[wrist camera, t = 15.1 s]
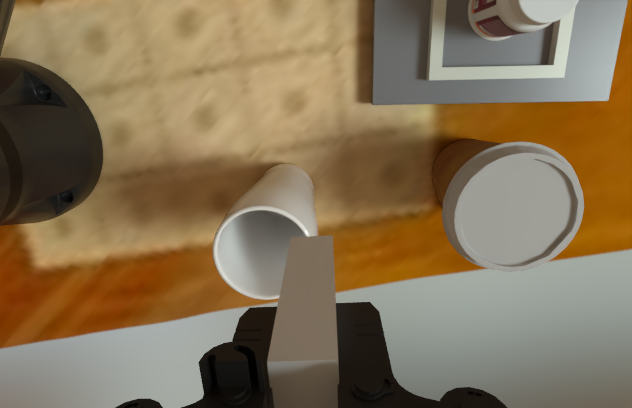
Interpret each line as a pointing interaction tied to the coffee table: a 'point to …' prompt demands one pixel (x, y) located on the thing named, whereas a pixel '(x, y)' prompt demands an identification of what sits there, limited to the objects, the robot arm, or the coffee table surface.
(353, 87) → the coffee table surface
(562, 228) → the disposable coffee cup
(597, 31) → the socket plate
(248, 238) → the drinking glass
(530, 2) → the pill bottle
